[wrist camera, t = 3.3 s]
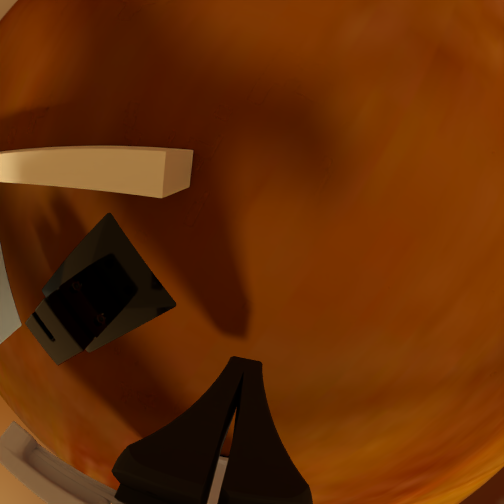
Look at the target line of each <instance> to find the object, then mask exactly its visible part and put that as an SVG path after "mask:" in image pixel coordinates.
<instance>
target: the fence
mask: <svg viewBox="0 0 504 504" xmlns="http://www.w3.org/2000/svg"><path fill="white" fill-rule="evenodd" d="M192 159H193V150H187V149H175V148H160V147H140V146H62V147H44V148H31V149H20V150H10V151H2V152H0V182H8V183H24V184H37V185H49V186H60V187H71V188H81V189H91V190H100V191H109V192H117V193H125V194H133V195H141V196H149V197H156V198H164V197H167V196H169V195H171V194H174V193H176V192H178V191H181V190H183V189H186V188H188V187H190V177H191V167H192ZM20 326H21V322H20V319H19V316H18V313H17V310H16V307H15V303H14V300H13V297H12V293H11V289H10V286H9V282H8V278H7V274H6V269H5V265H4V260H3V255H2V250H1V244H0V344H1V343H2V342H3V341H4V340H5V339H6V338H7V337H9V336H10V335H11V334H12V333H13V332H14V331H15V330H17V329H18V328H19V327H20Z"/></svg>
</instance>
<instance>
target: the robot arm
mask: <svg viewBox="0 0 504 504" xmlns="http://www.w3.org/2000/svg"><path fill="white" fill-rule="evenodd" d="M236 407H237V410H236ZM235 410H236V417H235V425H234V433H233V440H232V446H231V450H230V454H229V458H226V457H221V456H220V453H221V449H222V446H223V443H224V440H225V437H226V435H227V432H228V429H229V427H230V424H231V421H232V418H233V416H234V413H235ZM0 463H1V464H2V465H3V466H4V467H5V468H6V469H7V470H9V471H10V472H11V473H12V474H13V475H14V476H15V477H16V478H18V480H19V481H21V482H22V483H23V484H24V485H25V486H26V487H27V488H29V489H30V490H31V491H32V492H33V493H35V494H36V495H37V496H38V497H40V498H41V499H42V500H44V501H45V502H46V503H48V504H110V503H112V504H313V501H312V495H311V491H310V487H309V485H308V484H307V482H306V481H305V480H304V478H303V477H302V476H301V474H300V473H299V471H298V470H297V468H296V467H295V465H294V464H293V462H292V460H291V459H290V457H289V455H288V453H287V451H286V449H285V448H284V446H283V444H282V442H281V439H280V437H279V435H278V433H277V430H276V428H275V425H274V422H273V420H272V417H271V413H270V410H269V407H268V403H267V399H266V394H265V390H264V384H263V375H262V363H261V362H260V361H255V360H250V359H245V358H240V357H236V356H233V357H231V358H230V360H229V362H228V364H227V365H226V367H225V368H224V370H223V371H222V373H221V374H220V376H219V377H218V378H217V379H216V381H215V382H214V383H213V384H212V386H211V387H210V388H209V389H208V390H207V391H206V392H205V393H204V394H203V395H202V396H201V397H200V399H199V400H198V401H196V402H195V403H194V404H193V405H192V406H191V407H190V408H189V409H188V410H186V411H185V412H184V413H183V414H181V415H180V416H179V417H178V418H176V419H175V420H174V421H172V422H171V423H169V424H168V425H166V426H165V427H163V428H161V429H160V430H158V431H156V432H155V433H153V434H151V435H149V436H147V437H145V438H143V439H141V440H139V441H137V442H135V443H133V444H130V445H128V446H127V448H126V449H125V450H124V451H123V452H122V453H121V455H120V456H119V457H118V459H117V461H116V463H115V465H114V467H113V469H112V473H113V475H114V476H115V477H116V479H117V480H118V481H119V482H120V483H121V484H120V486H119V488H118V490H117V491H116V490H114V489H112V488H110V487H108V486H106V485H104V484H102V483H100V482H98V481H96V480H94V479H92V478H91V477H89V476H87V475H85V474H83V473H82V472H80V471H78V470H77V469H75V468H73V467H72V466H70V465H68V464H67V463H65V462H64V461H62V460H61V459H59V458H58V457H56V456H55V455H53V454H51V453H50V452H49V451H47V450H46V449H45V448H43V447H42V446H41V445H39V444H38V443H37V441H36V440H35V439H34V438H33V437H32V436H31V435H30V434H29V433H28V432H27V431H25V430H24V429H23V428H22V427H21V426H19V425H18V424H17V423H16V422H15V421H13V422H12V423H11V424H10V426H9V427H8V428H7V429H6V431H5V432H4V433H3V435H2V436H1V437H0Z"/></svg>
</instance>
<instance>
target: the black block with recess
mask: <svg viewBox="0 0 504 504" xmlns="http://www.w3.org/2000/svg"><path fill="white" fill-rule="evenodd" d="M42 292H43V294H44V295H45V297H46V298H44V299H43V300H42V302H41V303H40V304H39V305H38V307H37V308H36V309H35V312H34V313H33V314H31V316H30V317H29V318H28V320H27V321H26V322H25V324H26V325H27V327H28V328H29V330H30V331H31V332H32V334H33V335H34V336H35V338H36V339H37V340H38V342H39V343H40V344H41V346H42V347H43V348H44V349H45V351H46V352H47V353H48V354H49V356H50V357H51V358H52V359H53V360H54V362H55V363H56V364H57V365H60V364H62V363H63V362H65V361H67V360H69V359H70V358H72V357H74V356H76V355H77V354H79V353H81V352H83V351H84V350H85V349H86V351H87V352H89V353H90V352H92V351H94V350H96V349H98V348H99V347H101V346H103V345H105V344H107V343H109V342H111V341H113V340H114V339H116V338H118V337H120V336H122V335H124V334H126V333H128V332H129V331H131V330H133V329H135V328H137V327H139V326H141V325H142V324H144V323H146V322H148V321H150V320H152V319H154V318H155V317H157V316H159V315H161V314H163V313H165V312H167V311H168V310H170V309H172V308H174V307H175V306H176V302H175V301H174V300H173V298H172V297H171V296H170V295H169V293H168V292H167V291H166V290H165V288H164V287H163V286H162V284H161V283H160V282H159V280H158V279H157V278H156V277H155V275H154V274H153V273H152V271H151V270H150V269H149V267H148V266H147V264H146V263H145V262H144V260H143V259H142V258H141V256H140V255H139V253H138V252H137V251H136V249H135V248H134V246H133V245H132V244H131V242H130V241H129V239H128V238H127V236H126V235H125V233H124V232H123V231H122V229H121V228H120V226H119V225H118V223H117V222H116V220H115V219H114V217H113V216H112V214H111V213H107V214H106V215H105V216H104V217H103V219H102V220H101V221H100V222H99V223H98V224H97V225H96V226H95V227H94V228H93V229H92V230H91V231H90V232H89V233H88V235H87V236H86V237H85V238H84V239H83V240H82V241H81V242H80V243H79V245H78V246H77V247H76V248H75V249H74V250H73V252H72V253H71V254H70V255H69V256H68V257H67V259H66V260H65V261H64V262H63V263H62V265H61V266H60V267H59V268H58V270H57V271H56V272H55V273H54V275H53V276H52V277H51V278H50V280H49V281H48V282H47V284H46V285H45V286H44V288H43V289H42Z"/></svg>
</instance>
